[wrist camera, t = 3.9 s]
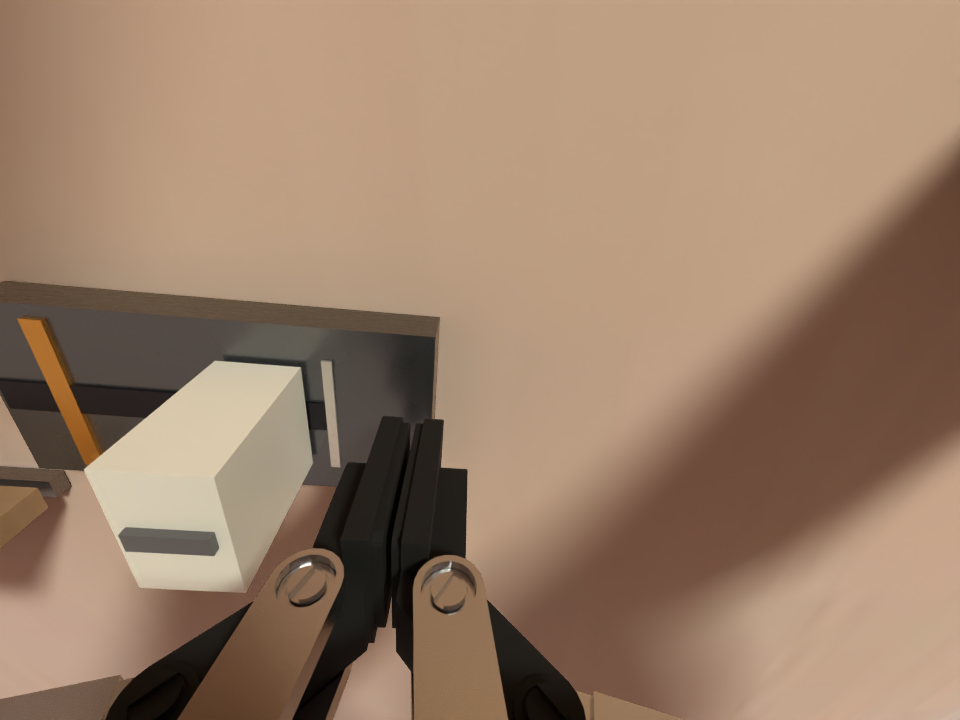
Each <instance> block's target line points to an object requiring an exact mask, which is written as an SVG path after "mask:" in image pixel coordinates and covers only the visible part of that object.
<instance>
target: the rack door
mask: <svg viewBox="0 0 960 720" xmlns="http://www.w3.org/2000/svg"><path fill="white" fill-rule="evenodd" d="M47 508H49V507H48V506H47V504H46V502H45V500H44V498H43V497H42V495H41V493H40V491H39V489H38V488H32V487H15V486H0V548H2V547H3V546H4V545H5V544H6V543H7V542H9V541H10V540H11V539H12V538H13V537H15V536H16V535H17V534H18V533H19V532H20V531H22V530H23V529H24V528H25V527H26V526H27V525H29V524H30V523H31V522H32V521H33V520H35V519H36V518H37V517H38V516H39V515H40V514H42V513H43V512H44V511H45V510H46V509H47Z"/></svg>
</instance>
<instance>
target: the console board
mask: <svg viewBox="0 0 960 720" xmlns="http://www.w3.org/2000/svg"><path fill="white" fill-rule="evenodd" d="M439 323H440V317H429V316H417V315H405V314H393V313H381V312H369V311H357V310H345V309H333V308H321V307H309V306H298V305H286V304H274V303H262V302H250V301H238V300H226V299H214V298H202V297H190V296H178V295H166V294H154V293H142V292H130V291H118V290H106V289H95V288H83V287H71V286H59V285H47V284H35V283H23V282H11V281H4V282H0V395H1V397H2V399H3V401H4V403H5V405H6V407H7V408H8V410H9V412H10V414H11V416H12V418H13V420H14V421H15V423H16V425H17V427H18V429H19V431H20V433H21V434H22V436H23V438H24V440H25V442H26V444H27V446H28V447H29V449H30V451H31V453H32V455H33V457H34V459H35V460H36V462H37V464H38V466H39V468H47V469H63V470H79V471H84V469H85V468H86V467H87V466H88V465H90V464H91V463H92V462H93V461H95V460H96V459H97V458H98V457H99V456H101V455H102V454H103V453H104V452H105V451H107V450H108V449H109V448H110V447H111V446H113V445H114V444H115V443H116V442H117V441H119V440H120V439H121V438H122V437H124V436H125V435H126V434H127V433H128V432H130V431H131V430H132V429H133V428H134V427H136V426H137V425H138V424H139V423H140V422H142V421H143V420H144V419H145V418H146V417H148V416H149V415H150V414H151V413H152V412H154V411H155V410H156V409H157V408H159V407H160V406H161V405H162V404H163V403H165V402H166V401H167V400H168V399H169V398H171V397H172V396H173V395H174V394H175V393H177V392H178V391H179V390H180V389H181V388H183V387H184V386H185V385H186V384H188V383H189V382H190V381H191V380H192V379H194V378H195V377H196V376H197V375H198V374H200V373H201V372H202V371H203V370H204V369H206V368H207V367H208V366H209V365H210V364H212V363H213V362H214V361H225V362H238V363H251V364H264V365H277V366H291V367H301V372H302V380H303V388H304V396H305V404H306V412H307V420H308V428H309V436H310V443H311V451H312V459H313V464H312V466H311V468H310V470H309V472H308V474H307V476H306V478H305V479H304V481H303V483H302V484H303V485H319V486H335V487H337V486H338V483H339V481H340V478H341V476H342V473H343V471H344V469H345V467H346V465H347V463H348V462H356V463H367V460H368V457H369V454H370V451H371V448H372V445H373V442H374V439H375V436H376V434H377V431H378V428H379V425H380V422H381V419H382V417H383V416H394V417H403V419H404V422H405V423H410V426H411V429H410V449H411V444H412V440H413V435H414V430H415V425H416V423H420V424H423V422H424V419H435V402H436V382H437V362H438V343H439Z"/></svg>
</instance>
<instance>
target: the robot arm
mask: <svg viewBox="0 0 960 720" xmlns="http://www.w3.org/2000/svg"><path fill="white" fill-rule="evenodd" d="M443 424H444V420H439V419H424V422H423V424H420V423H416V425H415V430H414V435H413V440H412V444H411V449H410V429H411V426H410V423H405V422H404V419H403V417H394V416H383V417H382V419H381V422H380V425H379V428H378V431H377V434H376V436H375V439H374V442H373V445H372V448H371V451H370V454H369V457H368V460H367V463H356V462H348V463H347V465H346V467H345V469H344V471H343V473H342V476H341V478H340V481H339V483H338V486H337V488H336V491H335V493H334V496H333V498H332V501H331V503H330V506H329V508H328V511H327V513H326V516H325V518H324V521H323V523H322V526H321V528H320V531H319V533H318V535H317V538H316V540H315V543H314V545H313V548H311V549H307V550H302V551H299V552H297V553H295V554H293V555H291V556H289V557H288V558H286V559H285V560H284V561H283V562H281V563H280V564H279V565H278V566H277V568H276V569H275V570H274V571H273V572H272V574H271V575H270V577H269V578H268V580H267V581H266V583H265V585H264V586H263V588H262V589H261V591H260V592H259V594H258V595H257V597H256V598H255V600H254V601H253V602H252V603H250V604H248V605H247V606H245V607H244V608H242V609H240V610H239V611H237V612H236V613H234V614H232V615H231V616H229V617H228V618H226V619H224V620H223V621H221V622H220V623H218V624H216V625H215V626H213V627H212V628H210V629H208V630H207V631H205V632H204V633H202V634H200V635H199V636H197V637H196V638H194V639H193V640H191V641H189V642H188V643H186V644H185V645H183V646H181V647H180V648H178V649H177V650H175V651H173V652H172V653H170V654H169V655H167V656H165V657H164V658H162V659H161V660H159V661H157V662H156V663H154V664H153V665H151V666H149V667H148V668H147V669H145V670H144V671H143V672H141V673H140V674H139V675H138V676H136V677H135V678H130V679H125V680H123V678H122V677H121V675H118V676H113V677H108V678H103V679H98V680H93V681H88V682H83V683H78V684H73V685H69V686H64V687H59V688H54V689H49V690H44V691H39V692H34V693H29V694H24V695H19V696H14V697H9V698H4V699H0V720H333V718H334V715H335V713H336V710H337V707H338V705H339V702H340V699H341V697H342V694H343V691H344V689H345V686H346V683H347V680H348V678H349V675H350V672H351V667H352V663H353V661H355V660H356V659H357V658H358V657H359V656H361V655H362V654H363V653H364V652H365V651H366V650H367V647H368V643H374V641H375V636H376V631H377V627H383V628H385V627H386V623H387V618H388V613H389V608H390V602H391V597H392V628H396V652H397V653H398V654H399V656H400V657H401V658H402V660H403V661H404V663H405V664H406V665H407V667H408V668H409V669H410V671H411V720H685V719H682V718H679V717H676V716H673V715H669V714H666V713H663V712H660V711H657V710H653V709H650V708H647V707H644V706H641V705H637V704H634V703H631V702H628V701H625V700H621V699H618V698H615V697H612V696H609V695H605V694H602V693H599V692H596V691H594V692H593V694H592V695H589V694H586V693H583V692H580V691H576V690H574V688H573V687H572V686H571V684H570V683H569V682H568V681H567V680H566V679H565V678H564V677H563V676H562V675H561V674H560V673H559V672H558V671H557V670H556V669H555V668H554V667H553V666H552V665H551V664H550V663H549V662H548V661H547V660H546V659H545V658H544V657H543V656H542V655H541V654H540V653H539V652H538V651H537V650H536V649H535V647H534V646H533V645H532V644H531V643H530V642H529V641H528V640H527V639H526V638H525V637H524V636H523V635H522V634H521V633H520V632H519V631H518V630H517V629H516V628H515V627H514V626H513V625H512V624H511V623H510V622H509V621H508V620H507V619H506V618H505V617H504V616H503V615H502V614H501V613H500V612H499V611H498V610H497V609H496V608H495V607H494V606H493V605H492V604H491V603H490V602H489V601H488V600H487V598H486V592H485V586H484V582H483V579H482V576H481V573H480V572H479V571H478V569H477V568H476V567H475V565H474V564H472V563H471V562H470V561H468V560H467V559H465V556H466V513H467V469H453V468H441V457H442V441H443Z"/></svg>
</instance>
